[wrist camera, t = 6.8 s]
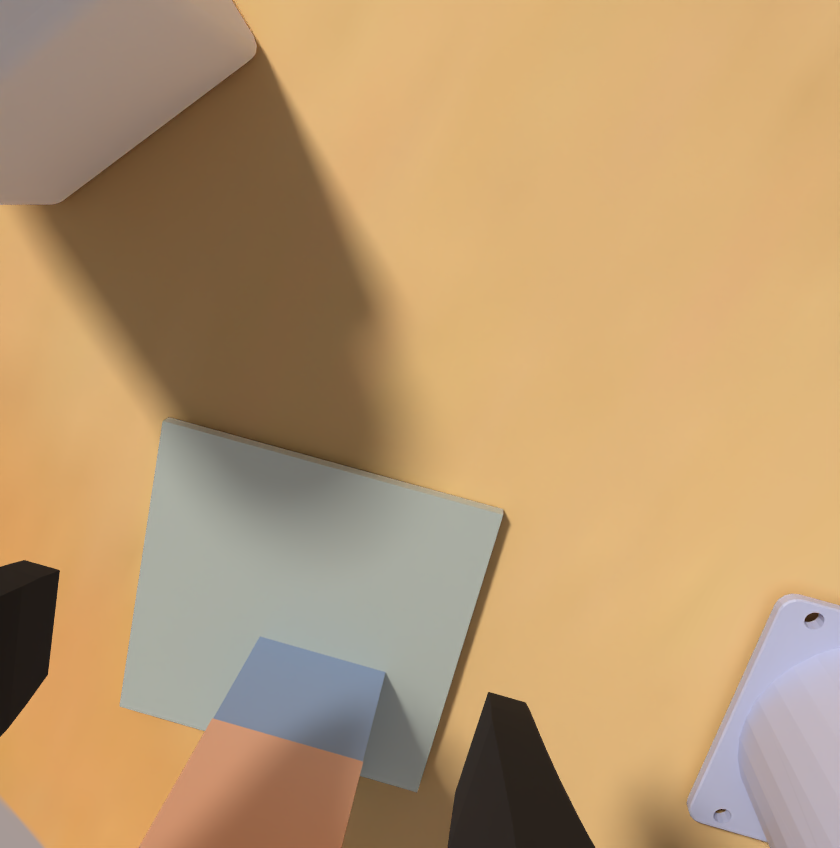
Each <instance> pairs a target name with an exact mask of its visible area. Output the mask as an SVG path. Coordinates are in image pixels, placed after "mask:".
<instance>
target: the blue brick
mask: <svg viewBox="0 0 840 848" xmlns="http://www.w3.org/2000/svg"><path fill="white" fill-rule="evenodd" d="M384 676H385V672H383V671H380V670H376V669H373V668H369V667H366V666H362V665H359V664H355V663H352V662H348V661H345V660H341V659H338V658H334V657H331V656H327V655H324V654H320V653H317V652H313V651H310V650H306V649H302V648H299V647H295V646H292V645H288V644H285V643H281V642H278V641H274V640H271V639H267V638H264V637H259V639H258V640H257V642H256V644H255V646H254V647H253V649H252V651H251V653H250V655H249V656H248V658H247V660H246V662H245V663H244V665H243V667H242V669H241V670H240V672H239V674H238V676H237V677H236V679H235V681H234V683H233V684H232V686H231V688H230V690H229V691H228V693H227V695H226V697H225V699H224V700H223V702H222V704H221V706H220V707H219V709H218V711H217V713H216V714H215V716H214V718H213V719H217V720H220V721H224V722H227V723H231V724H234V725H238V726H241V727H245V728H248V729H252V730H255V731H259V732H262V733H266V734H269V735H273V736H276V737H279V738H283V739H286V740H290V741H293V742H297V743H300V744H304V745H307V746H311V747H314V748H318V749H321V750H325V751H328V752H332V753H335V754H339V755H342V756H346V757H349V758H353V759H356V760H360V761H363V758H364V754H365V751H366V747H367V743H368V739H369V735H370V731H371V727H372V723H373V719H374V715H375V711H376V707H377V704H378V700H379V696H380V692H381V688H382V684H383V680H384Z"/></svg>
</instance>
